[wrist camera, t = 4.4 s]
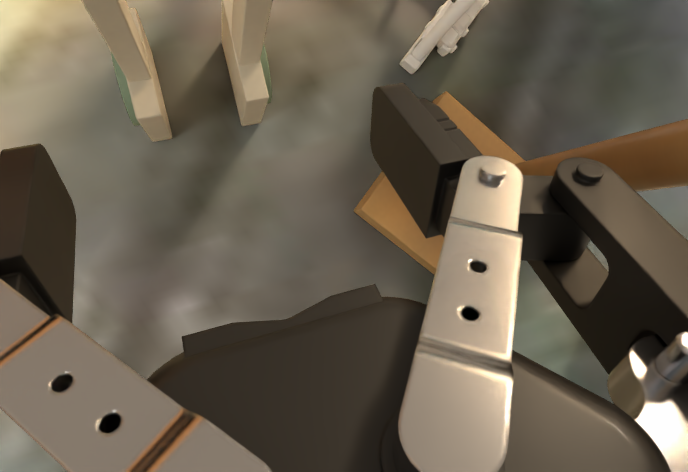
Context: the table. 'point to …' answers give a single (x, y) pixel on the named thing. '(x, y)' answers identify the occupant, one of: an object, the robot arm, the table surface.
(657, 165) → the stand
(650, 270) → the robot arm
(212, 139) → the table surface
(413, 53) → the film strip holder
